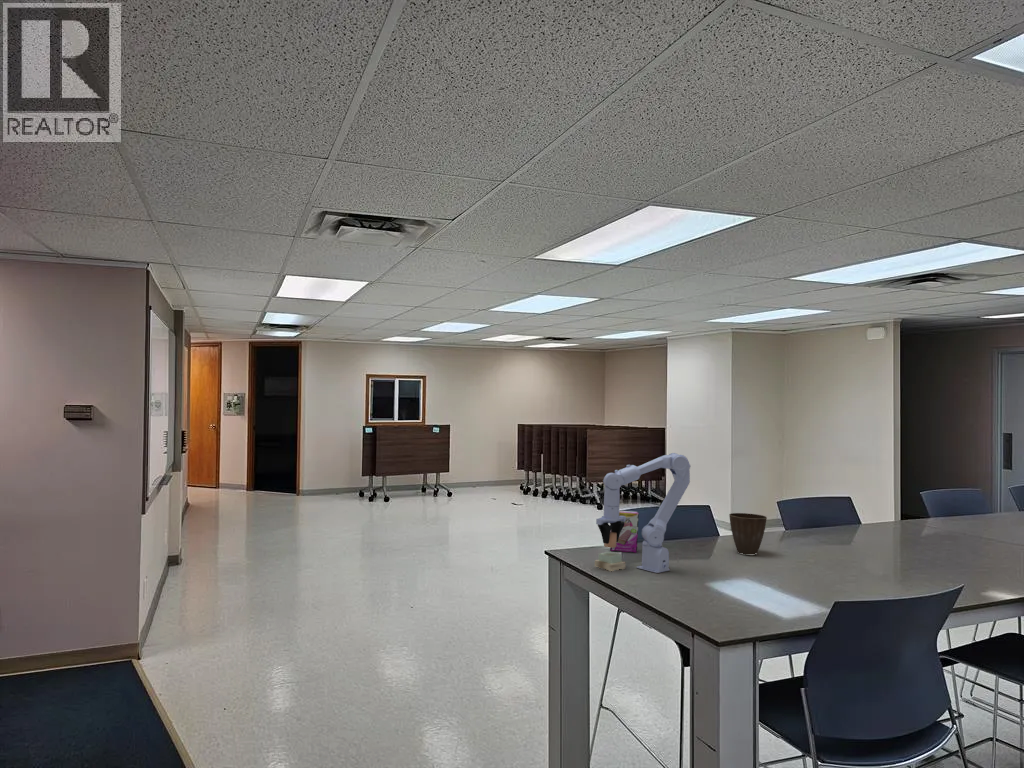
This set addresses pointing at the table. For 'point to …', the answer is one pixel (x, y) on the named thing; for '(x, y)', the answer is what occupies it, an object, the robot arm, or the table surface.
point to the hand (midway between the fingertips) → (610, 542)
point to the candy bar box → (628, 533)
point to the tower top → (610, 557)
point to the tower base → (610, 565)
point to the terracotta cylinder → (612, 540)
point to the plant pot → (747, 531)
